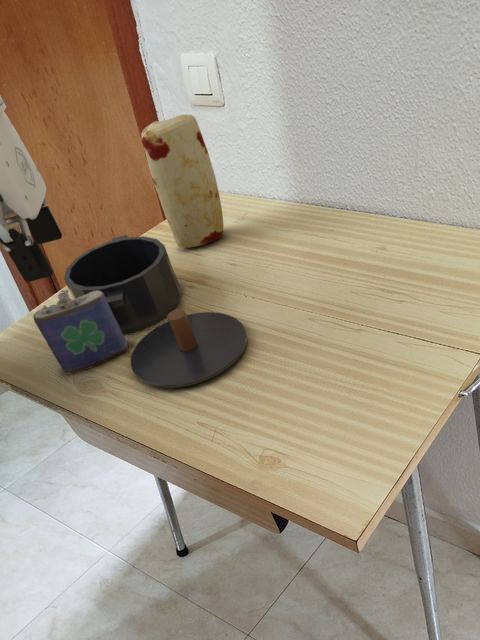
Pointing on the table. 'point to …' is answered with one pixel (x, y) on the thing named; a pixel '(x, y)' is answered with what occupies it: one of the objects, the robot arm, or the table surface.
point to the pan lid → (188, 349)
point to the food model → (184, 180)
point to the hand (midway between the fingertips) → (45, 258)
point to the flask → (81, 331)
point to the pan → (128, 280)
